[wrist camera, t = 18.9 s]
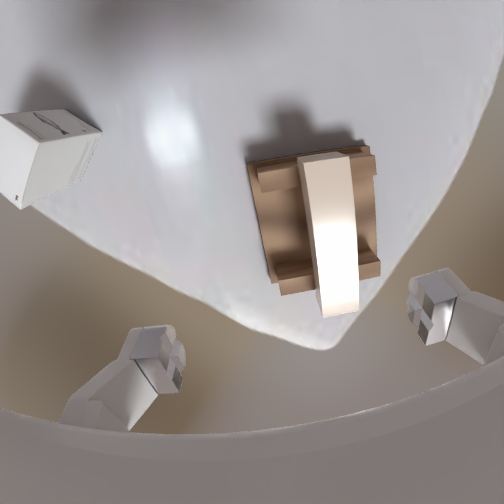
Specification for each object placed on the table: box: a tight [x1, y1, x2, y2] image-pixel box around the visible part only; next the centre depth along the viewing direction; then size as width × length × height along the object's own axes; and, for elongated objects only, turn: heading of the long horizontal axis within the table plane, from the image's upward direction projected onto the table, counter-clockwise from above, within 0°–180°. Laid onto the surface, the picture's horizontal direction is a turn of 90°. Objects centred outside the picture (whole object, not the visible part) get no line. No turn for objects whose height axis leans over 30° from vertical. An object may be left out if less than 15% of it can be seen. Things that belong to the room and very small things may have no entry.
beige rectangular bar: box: [297, 151, 359, 318], centre depth 29 cm, size 16×4×4 cm, turn 12°
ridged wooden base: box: [247, 145, 380, 296], centre depth 33 cm, size 15×14×5 cm
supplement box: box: [0, 109, 102, 209], centre depth 25 cm, size 7×7×13 cm
